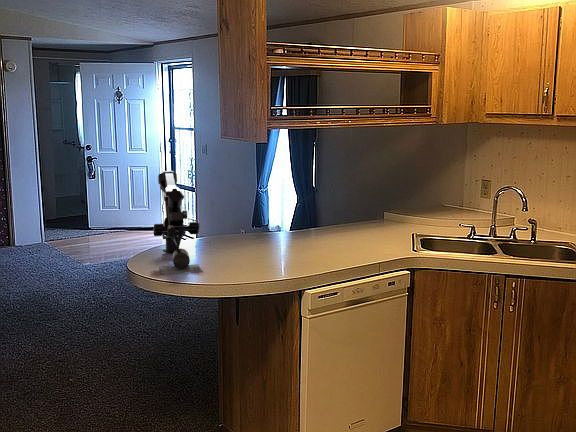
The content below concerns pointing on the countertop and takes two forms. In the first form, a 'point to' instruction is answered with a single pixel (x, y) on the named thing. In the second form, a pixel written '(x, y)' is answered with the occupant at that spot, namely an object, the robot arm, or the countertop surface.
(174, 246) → the robot arm
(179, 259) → the supplement bottle
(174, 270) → the metal sheet
